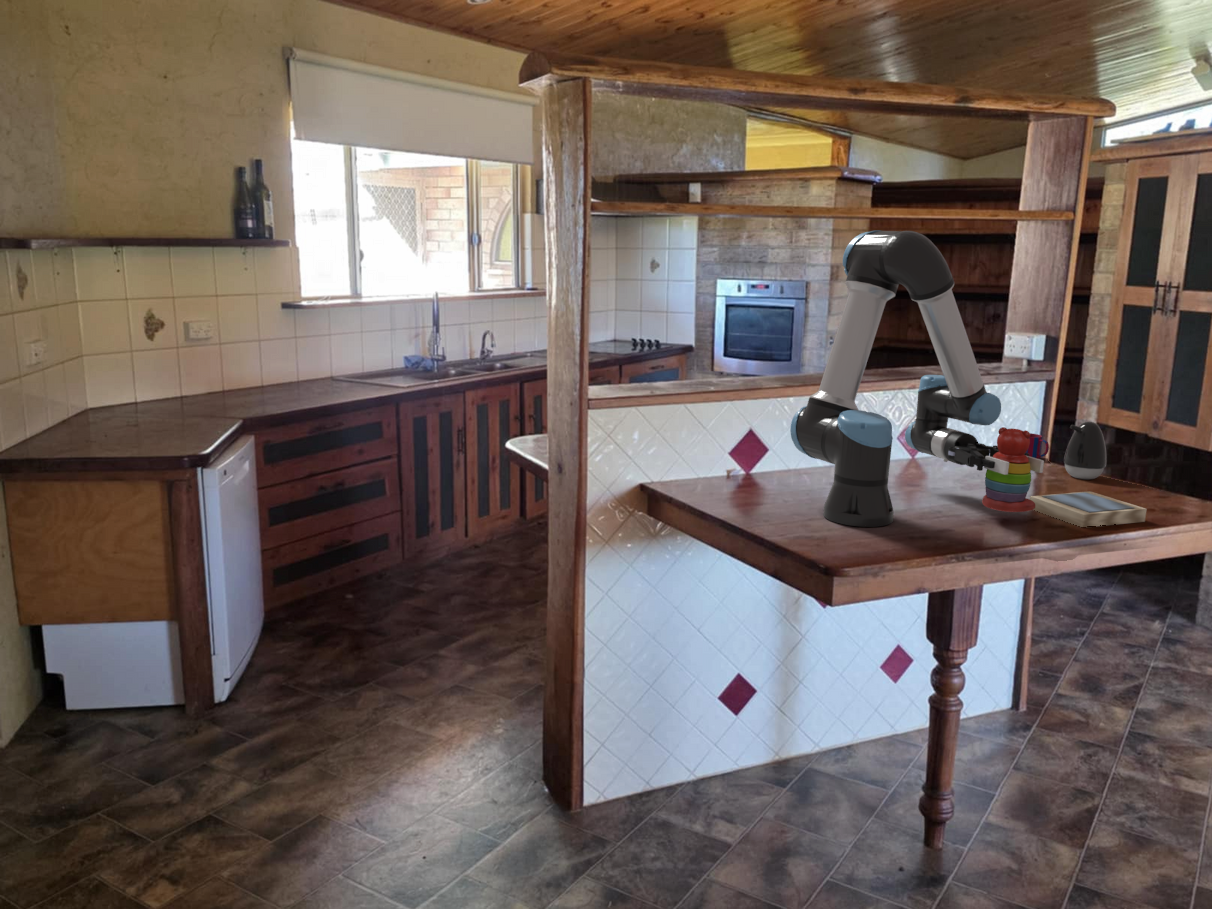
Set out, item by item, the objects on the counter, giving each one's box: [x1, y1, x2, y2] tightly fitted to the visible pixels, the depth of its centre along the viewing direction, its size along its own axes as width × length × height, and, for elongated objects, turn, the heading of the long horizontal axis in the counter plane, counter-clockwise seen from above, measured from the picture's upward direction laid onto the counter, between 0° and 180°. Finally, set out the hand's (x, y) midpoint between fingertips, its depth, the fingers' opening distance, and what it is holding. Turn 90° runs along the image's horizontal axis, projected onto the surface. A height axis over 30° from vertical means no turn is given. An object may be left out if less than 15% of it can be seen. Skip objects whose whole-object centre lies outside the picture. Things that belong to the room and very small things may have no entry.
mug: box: [1026, 432, 1050, 460], centre depth 278 cm, size 7×10×7 cm
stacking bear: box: [981, 426, 1035, 513], centre depth 212 cm, size 11×10×18 cm
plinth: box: [1029, 491, 1147, 528], centre depth 220 cm, size 18×16×3 cm
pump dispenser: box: [1063, 421, 1107, 480], centre depth 256 cm, size 10×10×15 cm
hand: (1024, 467), depth 207 cm, fingers closed on stacking bear, 9 cm apart
